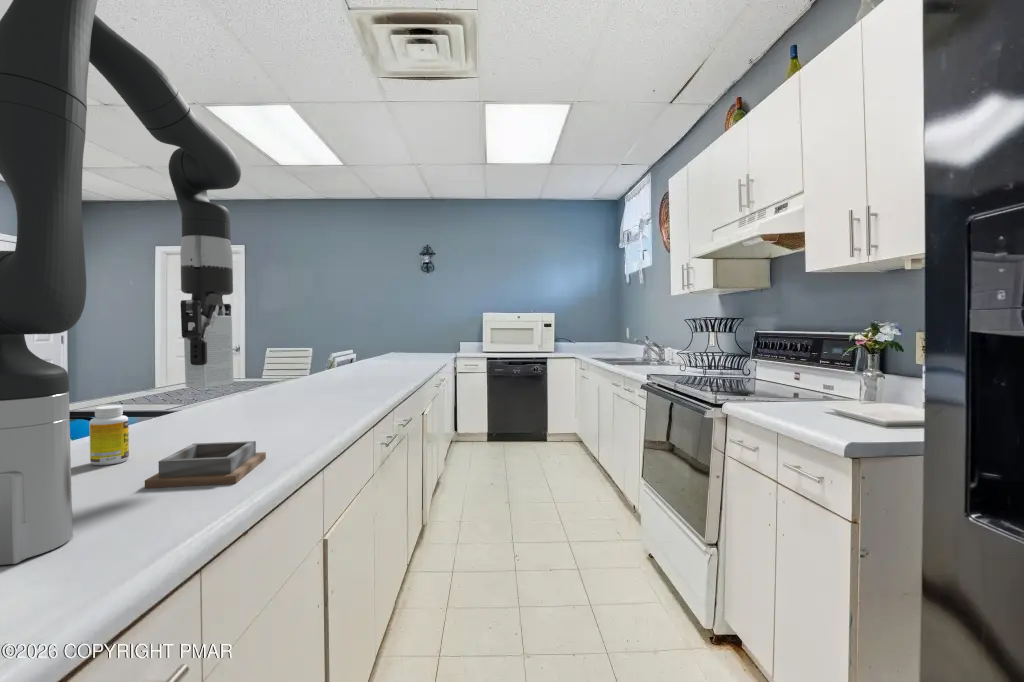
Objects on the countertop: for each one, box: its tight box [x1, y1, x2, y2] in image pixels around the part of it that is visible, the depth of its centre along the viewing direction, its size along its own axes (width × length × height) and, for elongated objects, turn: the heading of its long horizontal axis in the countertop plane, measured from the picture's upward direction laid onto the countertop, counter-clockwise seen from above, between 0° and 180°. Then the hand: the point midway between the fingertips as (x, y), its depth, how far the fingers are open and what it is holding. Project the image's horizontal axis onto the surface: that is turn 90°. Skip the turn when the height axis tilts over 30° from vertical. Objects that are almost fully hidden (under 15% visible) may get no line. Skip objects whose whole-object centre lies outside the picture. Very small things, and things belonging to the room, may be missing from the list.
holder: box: [144, 440, 267, 489], centre depth 84 cm, size 15×13×4 cm
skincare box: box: [183, 315, 234, 389], centre depth 84 cm, size 6×4×12 cm
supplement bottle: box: [88, 404, 130, 466], centre depth 90 cm, size 6×6×10 cm
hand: (208, 362), depth 84 cm, fingers closed on skincare box, 7 cm apart
